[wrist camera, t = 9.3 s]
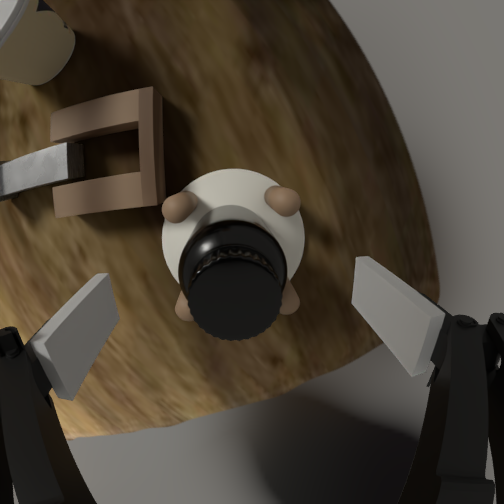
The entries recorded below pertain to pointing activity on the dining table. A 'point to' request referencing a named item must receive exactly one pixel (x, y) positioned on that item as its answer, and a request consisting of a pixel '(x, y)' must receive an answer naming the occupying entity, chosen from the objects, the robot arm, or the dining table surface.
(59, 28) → the coffee cup
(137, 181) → the slot block
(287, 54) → the dining table surface
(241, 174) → the peg rack
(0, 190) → the pin
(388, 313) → the robot arm
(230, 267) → the supplement bottle
